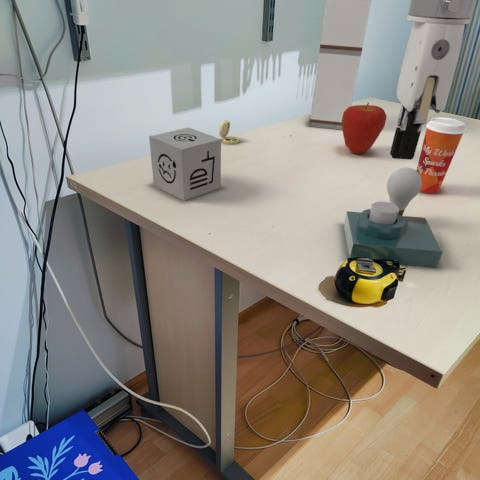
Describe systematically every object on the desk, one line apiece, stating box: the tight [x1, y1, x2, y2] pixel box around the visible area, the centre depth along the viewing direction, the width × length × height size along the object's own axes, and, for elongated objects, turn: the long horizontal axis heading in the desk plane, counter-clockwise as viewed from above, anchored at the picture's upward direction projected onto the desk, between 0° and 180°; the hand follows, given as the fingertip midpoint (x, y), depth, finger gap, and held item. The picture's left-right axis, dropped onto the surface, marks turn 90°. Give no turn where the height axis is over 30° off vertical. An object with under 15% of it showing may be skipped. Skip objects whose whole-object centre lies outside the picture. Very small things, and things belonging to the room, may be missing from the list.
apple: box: [342, 102, 387, 155], centre depth 108 cm, size 11×11×12 cm
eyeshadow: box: [218, 120, 240, 145], centre depth 113 cm, size 4×5×5 cm
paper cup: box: [415, 116, 467, 195], centre depth 90 cm, size 8×8×14 cm
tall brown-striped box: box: [308, 0, 373, 131], centre depth 121 cm, size 11×11×35 cm
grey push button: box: [369, 200, 399, 225], centre depth 70 cm, size 4×4×2 cm
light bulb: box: [386, 166, 422, 216], centre depth 78 cm, size 6×6×10 cm
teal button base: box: [343, 208, 443, 268], centre depth 72 cm, size 14×12×5 cm
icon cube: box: [148, 127, 222, 202], centre depth 86 cm, size 10×10×10 cm
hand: (401, 156), depth 64 cm, fingers closed
